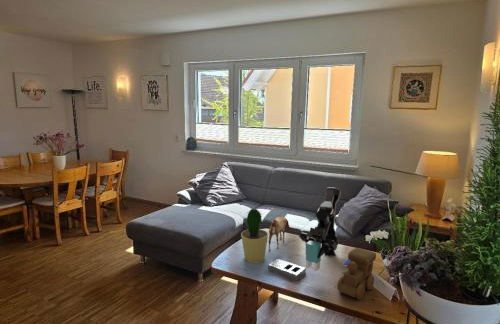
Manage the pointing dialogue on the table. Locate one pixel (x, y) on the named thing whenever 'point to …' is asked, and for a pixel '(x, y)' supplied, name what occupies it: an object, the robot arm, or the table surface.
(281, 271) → the grey block with holes
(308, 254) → the clip
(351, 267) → the wooden toy train
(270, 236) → the horse figurine
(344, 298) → the table surface
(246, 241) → the potted cactus
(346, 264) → the hard drive
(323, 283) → the table surface
